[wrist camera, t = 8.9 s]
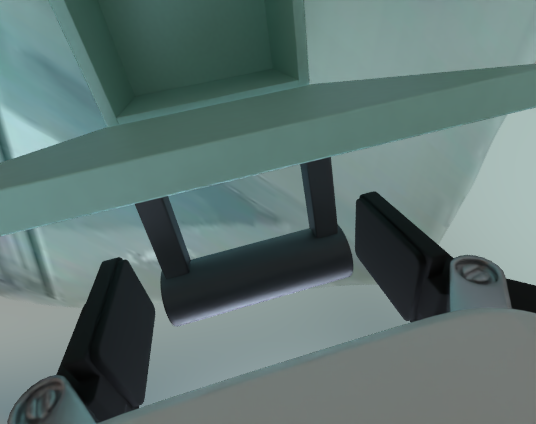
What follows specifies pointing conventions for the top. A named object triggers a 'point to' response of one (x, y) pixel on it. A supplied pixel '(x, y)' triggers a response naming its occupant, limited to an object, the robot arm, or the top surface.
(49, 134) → the top surface
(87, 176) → the lid
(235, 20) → the storage box
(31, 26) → the top surface
